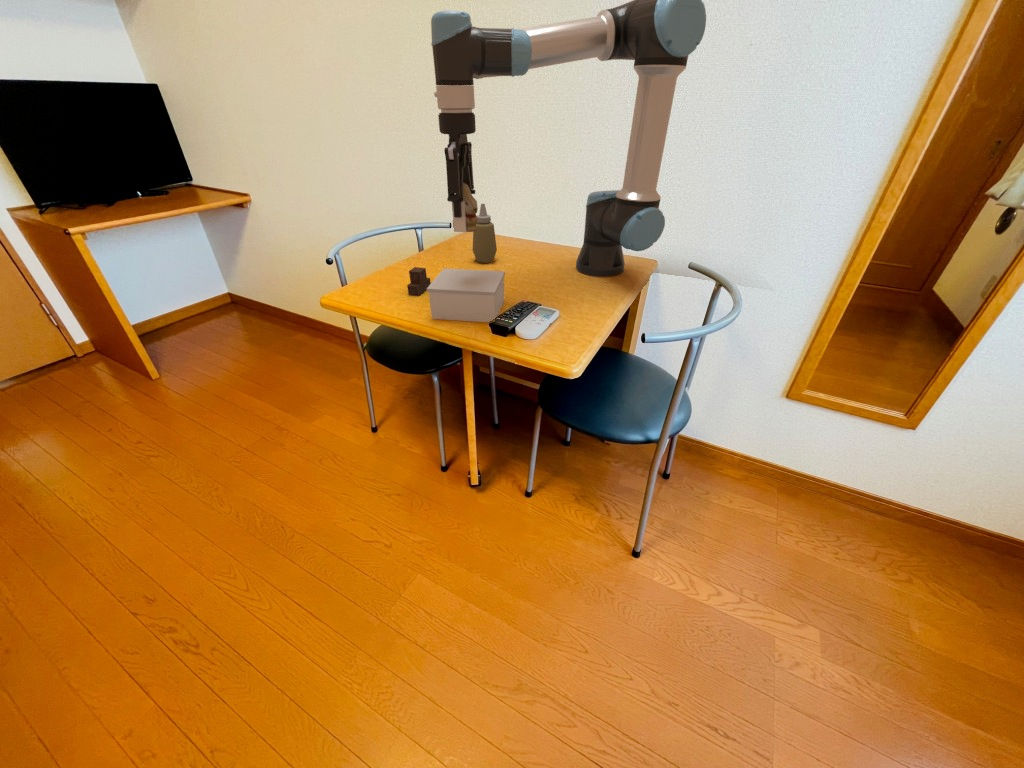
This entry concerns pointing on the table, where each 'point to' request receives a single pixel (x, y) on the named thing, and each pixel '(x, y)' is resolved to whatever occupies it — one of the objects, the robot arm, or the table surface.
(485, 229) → the squeeze bottle
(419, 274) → the stack of crates
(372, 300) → the table surface
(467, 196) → the chocolate bunny
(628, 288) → the table surface
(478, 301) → the storage box
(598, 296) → the table surface
